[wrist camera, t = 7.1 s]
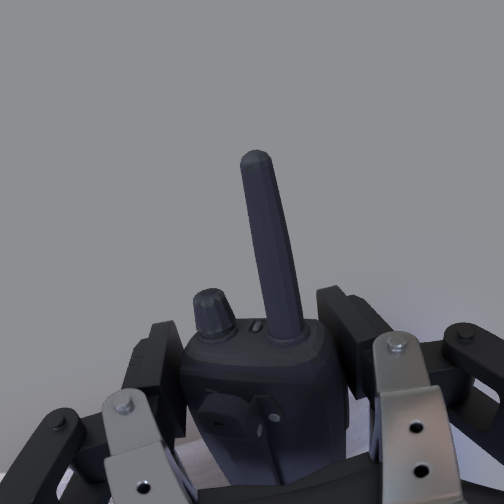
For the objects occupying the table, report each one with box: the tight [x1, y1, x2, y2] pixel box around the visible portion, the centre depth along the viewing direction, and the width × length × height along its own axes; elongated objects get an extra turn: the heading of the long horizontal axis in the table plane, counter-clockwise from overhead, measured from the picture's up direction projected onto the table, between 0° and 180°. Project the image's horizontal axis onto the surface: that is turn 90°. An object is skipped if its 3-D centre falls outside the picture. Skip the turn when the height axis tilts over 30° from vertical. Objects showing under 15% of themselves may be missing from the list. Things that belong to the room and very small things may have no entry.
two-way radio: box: [179, 150, 349, 486], centre depth 9 cm, size 6×4×15 cm
